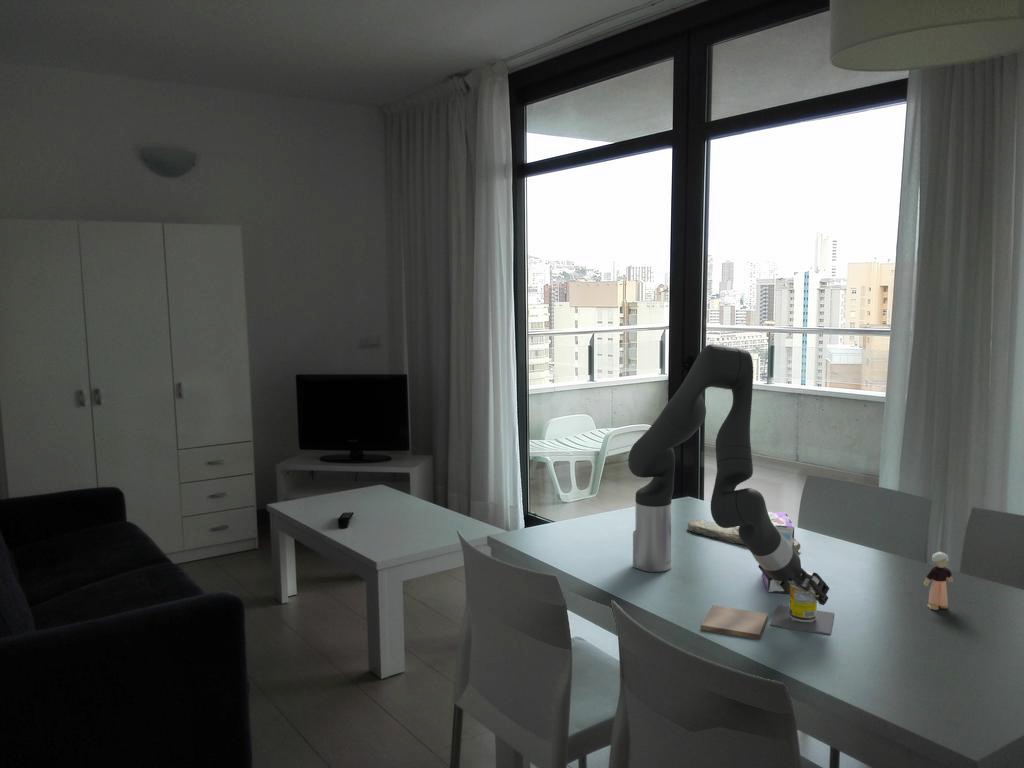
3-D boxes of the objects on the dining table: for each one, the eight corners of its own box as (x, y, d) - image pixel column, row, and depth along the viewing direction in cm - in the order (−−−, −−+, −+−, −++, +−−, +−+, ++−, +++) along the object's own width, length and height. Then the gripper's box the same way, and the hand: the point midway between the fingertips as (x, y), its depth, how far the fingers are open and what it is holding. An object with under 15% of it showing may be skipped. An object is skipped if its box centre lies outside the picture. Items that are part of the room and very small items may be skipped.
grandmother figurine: (935, 612, 175) (938, 557, 174) (919, 607, 178) (922, 552, 177) (957, 606, 178) (960, 551, 177) (941, 600, 182) (943, 547, 181)
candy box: (793, 594, 187) (795, 526, 185) (767, 593, 188) (768, 525, 186) (785, 574, 200) (787, 511, 199) (761, 573, 202) (762, 510, 200)
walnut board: (700, 629, 168) (700, 625, 168) (712, 609, 178) (712, 605, 178) (759, 639, 162) (759, 634, 162) (767, 618, 173) (767, 613, 173)
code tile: (770, 625, 169) (770, 624, 169) (777, 605, 180) (777, 604, 180) (830, 635, 164) (830, 633, 164) (834, 614, 175) (834, 612, 175)
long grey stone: (699, 530, 246) (680, 538, 239) (697, 513, 245) (679, 521, 238) (807, 548, 221) (790, 558, 214) (806, 529, 220) (789, 539, 213)
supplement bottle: (794, 611, 176) (795, 566, 175) (820, 617, 172) (821, 571, 171) (785, 619, 172) (786, 573, 171) (810, 625, 168) (812, 578, 167)
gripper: (812, 547, 160) (844, 590, 168) (754, 531, 172) (787, 572, 179) (795, 578, 158) (828, 620, 165) (738, 560, 169) (771, 600, 177)
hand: (806, 595), depth 172 cm, fingers open, 8 cm apart
